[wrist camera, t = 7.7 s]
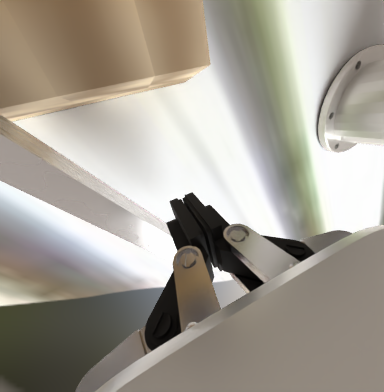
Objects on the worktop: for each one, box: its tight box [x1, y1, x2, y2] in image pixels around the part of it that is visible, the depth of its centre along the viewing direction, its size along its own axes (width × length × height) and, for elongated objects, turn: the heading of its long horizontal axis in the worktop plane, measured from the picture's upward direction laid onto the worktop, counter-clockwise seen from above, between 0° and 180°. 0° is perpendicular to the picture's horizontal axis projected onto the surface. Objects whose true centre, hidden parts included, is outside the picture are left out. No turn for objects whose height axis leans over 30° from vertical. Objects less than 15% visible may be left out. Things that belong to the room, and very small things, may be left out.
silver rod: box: [0, 115, 177, 262], centre depth 8 cm, size 21×2×3 cm, turn 41°
